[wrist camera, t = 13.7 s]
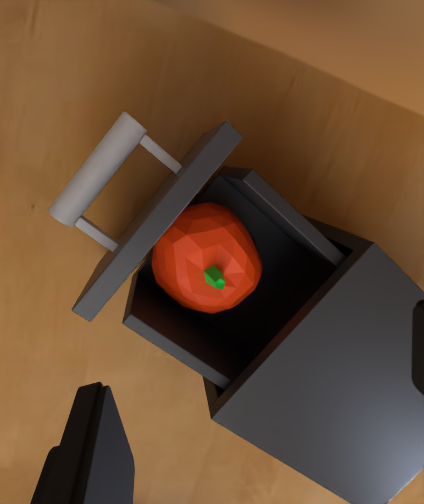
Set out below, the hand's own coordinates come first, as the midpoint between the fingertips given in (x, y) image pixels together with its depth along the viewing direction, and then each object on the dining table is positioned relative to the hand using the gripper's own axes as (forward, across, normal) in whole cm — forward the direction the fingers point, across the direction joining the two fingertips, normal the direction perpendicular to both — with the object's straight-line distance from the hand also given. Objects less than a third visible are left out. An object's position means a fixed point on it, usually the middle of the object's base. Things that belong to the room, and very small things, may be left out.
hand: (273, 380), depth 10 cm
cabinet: (+18, -8, +10) cm, 22 cm away
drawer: (+17, 0, 0) cm, 17 cm away
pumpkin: (+16, 0, 0) cm, 16 cm away
